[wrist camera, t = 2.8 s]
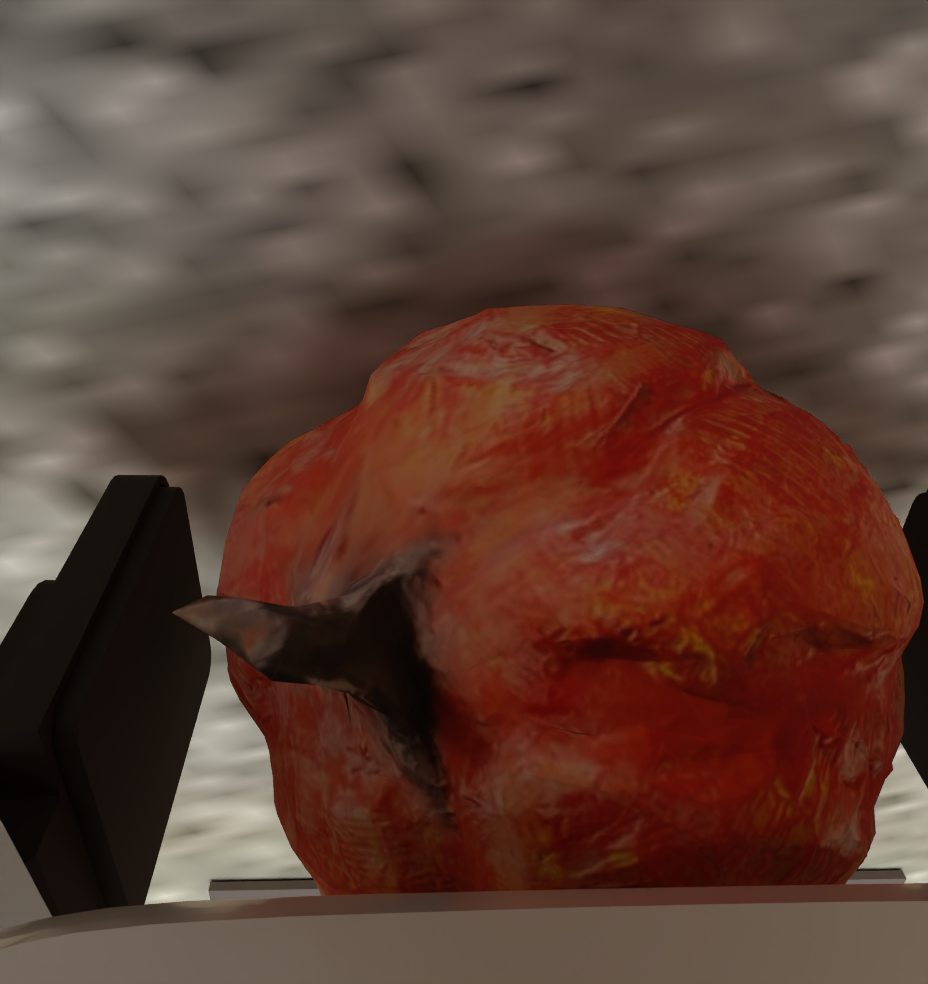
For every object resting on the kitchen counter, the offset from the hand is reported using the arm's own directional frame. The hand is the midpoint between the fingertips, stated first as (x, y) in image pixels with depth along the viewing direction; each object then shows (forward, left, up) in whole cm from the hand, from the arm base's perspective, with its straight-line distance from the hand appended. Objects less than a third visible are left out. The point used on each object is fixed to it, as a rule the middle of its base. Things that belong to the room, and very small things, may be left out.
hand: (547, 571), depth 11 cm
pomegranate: (0, 0, -2) cm, 2 cm away
